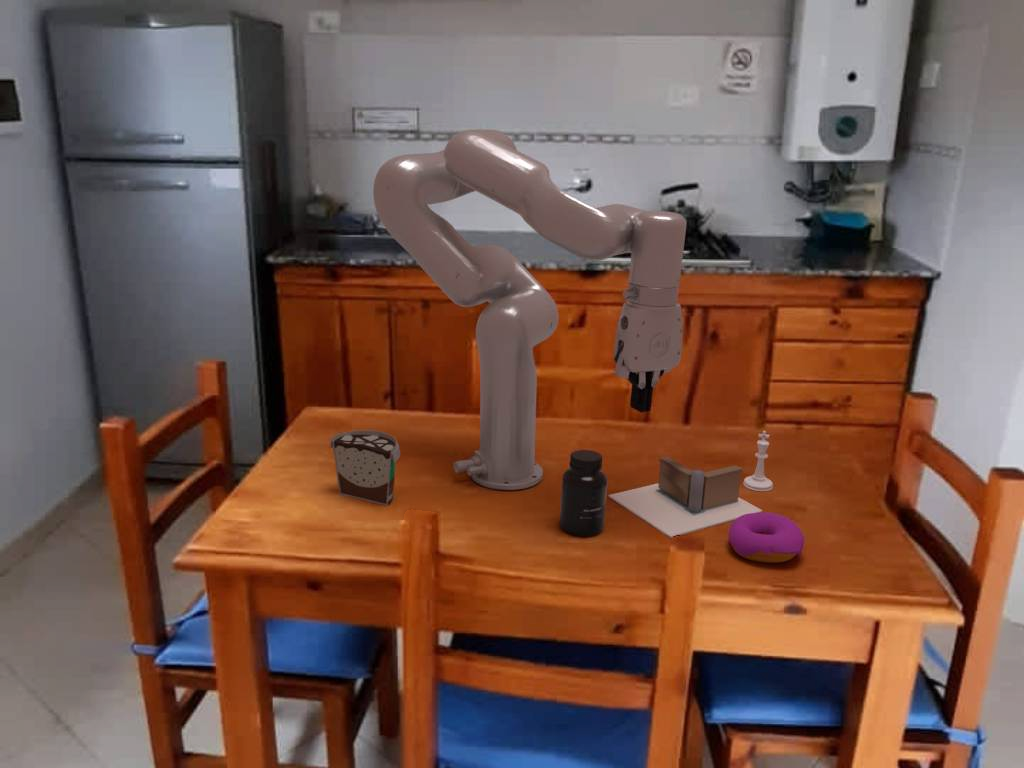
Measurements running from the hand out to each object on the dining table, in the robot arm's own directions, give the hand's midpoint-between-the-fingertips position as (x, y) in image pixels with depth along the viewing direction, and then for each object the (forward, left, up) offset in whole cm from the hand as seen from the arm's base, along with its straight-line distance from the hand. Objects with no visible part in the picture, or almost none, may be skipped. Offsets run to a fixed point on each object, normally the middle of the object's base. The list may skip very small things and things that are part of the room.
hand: (640, 408), depth 133 cm
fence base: (+7, -4, -16) cm, 18 cm away
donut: (+8, -21, -17) cm, 28 cm away
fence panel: (+7, -2, -16) cm, 17 cm away
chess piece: (+24, -4, -17) cm, 29 cm away
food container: (-36, +23, -17) cm, 46 cm away
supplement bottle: (-12, -3, -17) cm, 21 cm away
